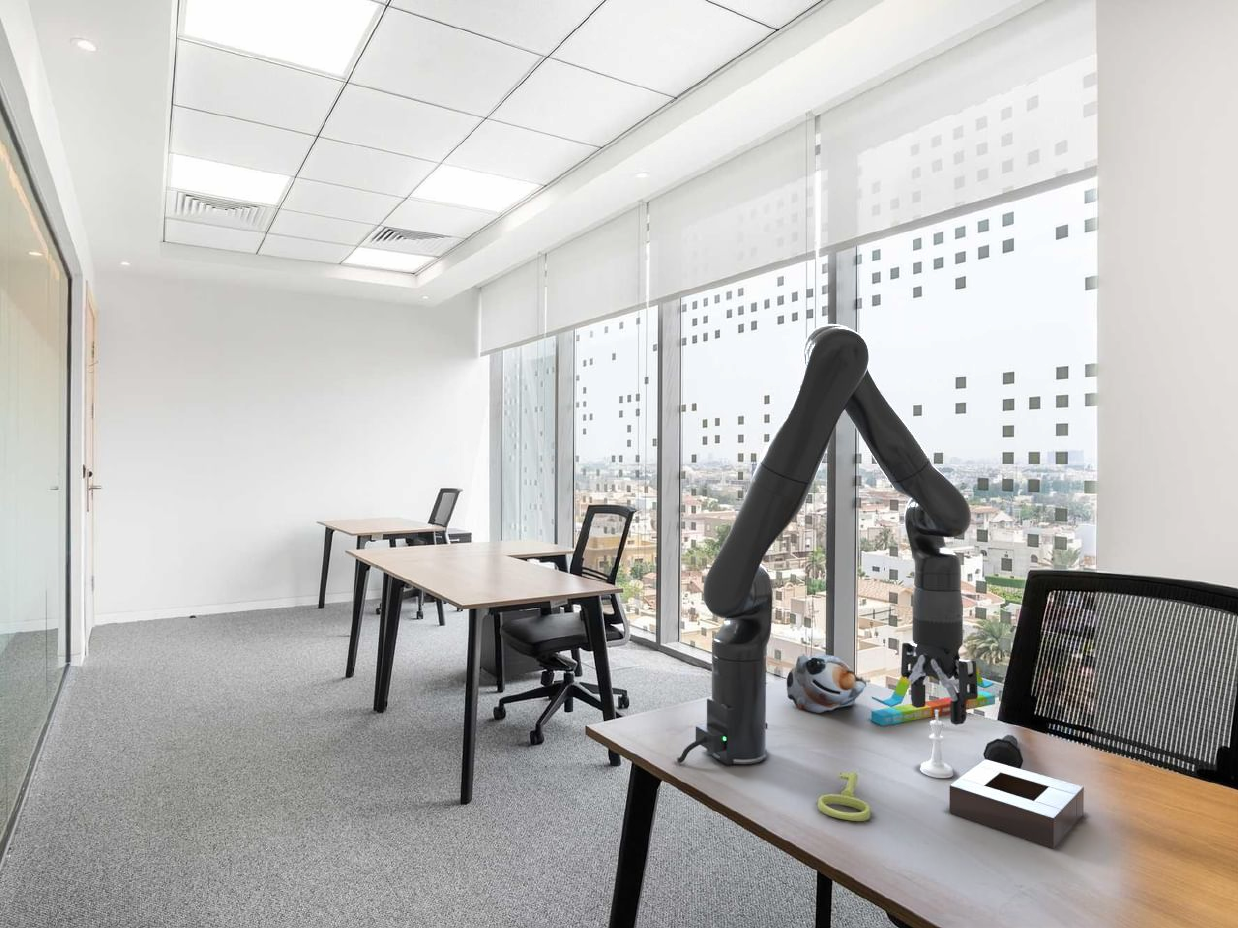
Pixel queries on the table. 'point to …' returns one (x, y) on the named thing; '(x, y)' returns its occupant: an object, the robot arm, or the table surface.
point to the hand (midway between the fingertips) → (937, 714)
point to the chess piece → (936, 754)
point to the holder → (1017, 802)
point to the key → (845, 801)
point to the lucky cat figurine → (823, 683)
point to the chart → (928, 710)
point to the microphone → (1004, 752)
